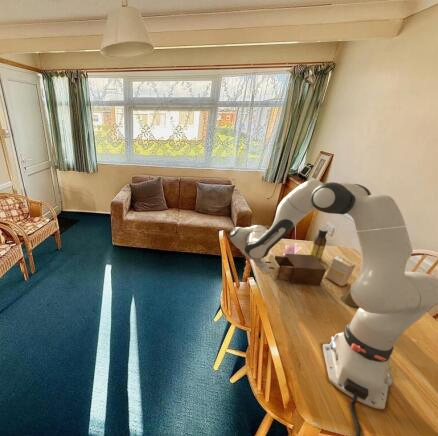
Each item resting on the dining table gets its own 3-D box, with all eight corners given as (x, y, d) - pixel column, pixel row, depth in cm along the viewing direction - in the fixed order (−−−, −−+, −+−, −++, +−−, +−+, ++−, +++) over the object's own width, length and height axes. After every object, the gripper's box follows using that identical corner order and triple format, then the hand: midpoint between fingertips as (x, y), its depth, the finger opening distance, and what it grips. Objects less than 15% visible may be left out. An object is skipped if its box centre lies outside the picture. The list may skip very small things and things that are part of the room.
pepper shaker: (362, 307, 105) (372, 289, 101) (347, 305, 107) (356, 287, 102) (354, 298, 111) (363, 280, 106) (340, 296, 112) (348, 278, 107)
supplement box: (346, 284, 120) (356, 264, 114) (341, 287, 118) (350, 266, 112) (330, 275, 127) (339, 255, 121) (324, 277, 125) (333, 257, 119)
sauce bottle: (320, 256, 142) (331, 229, 133) (320, 262, 137) (332, 233, 129) (307, 253, 145) (317, 226, 137) (307, 258, 140) (318, 230, 132)
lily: (284, 251, 149) (280, 241, 145) (305, 251, 141) (302, 240, 137) (282, 265, 142) (278, 255, 138) (305, 266, 134) (301, 254, 130)
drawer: (265, 279, 122) (268, 266, 118) (258, 266, 132) (261, 253, 129) (300, 282, 120) (305, 268, 116) (291, 268, 130) (295, 256, 127)
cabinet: (289, 283, 121) (295, 267, 116) (280, 268, 132) (285, 253, 127) (319, 285, 119) (326, 269, 114) (307, 270, 130) (313, 255, 126)
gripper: (263, 259, 112) (279, 276, 115) (251, 238, 130) (265, 253, 133) (252, 266, 114) (268, 282, 117) (242, 244, 133) (256, 259, 136)
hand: (266, 267), depth 125 cm, fingers open, 7 cm apart
